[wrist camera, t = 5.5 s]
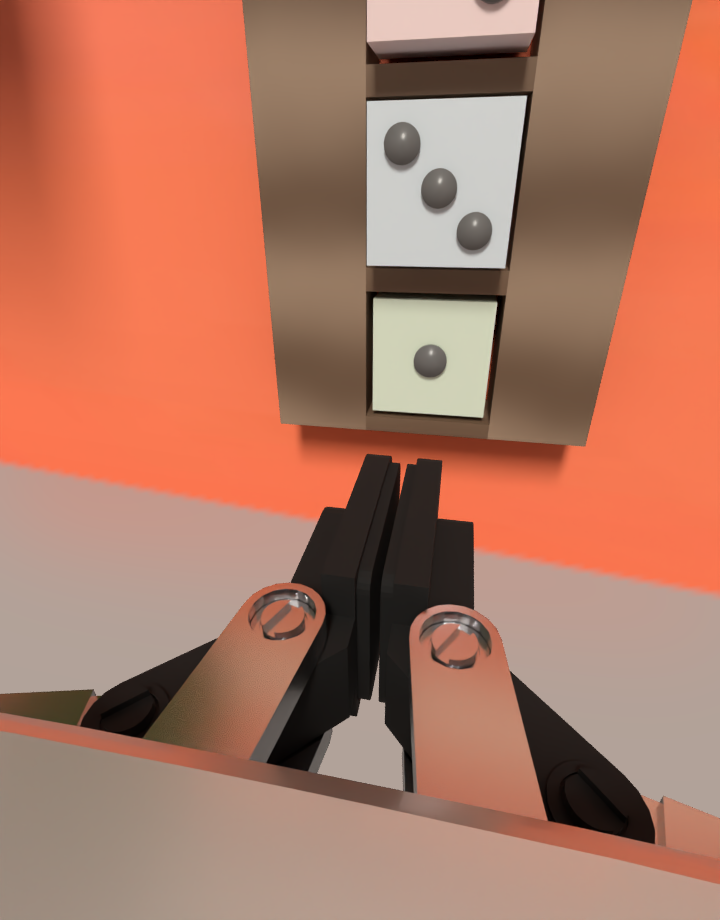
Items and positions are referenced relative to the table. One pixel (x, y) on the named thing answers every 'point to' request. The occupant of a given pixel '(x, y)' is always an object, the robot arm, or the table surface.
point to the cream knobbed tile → (432, 352)
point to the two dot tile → (449, 27)
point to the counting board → (533, 216)
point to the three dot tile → (442, 180)
